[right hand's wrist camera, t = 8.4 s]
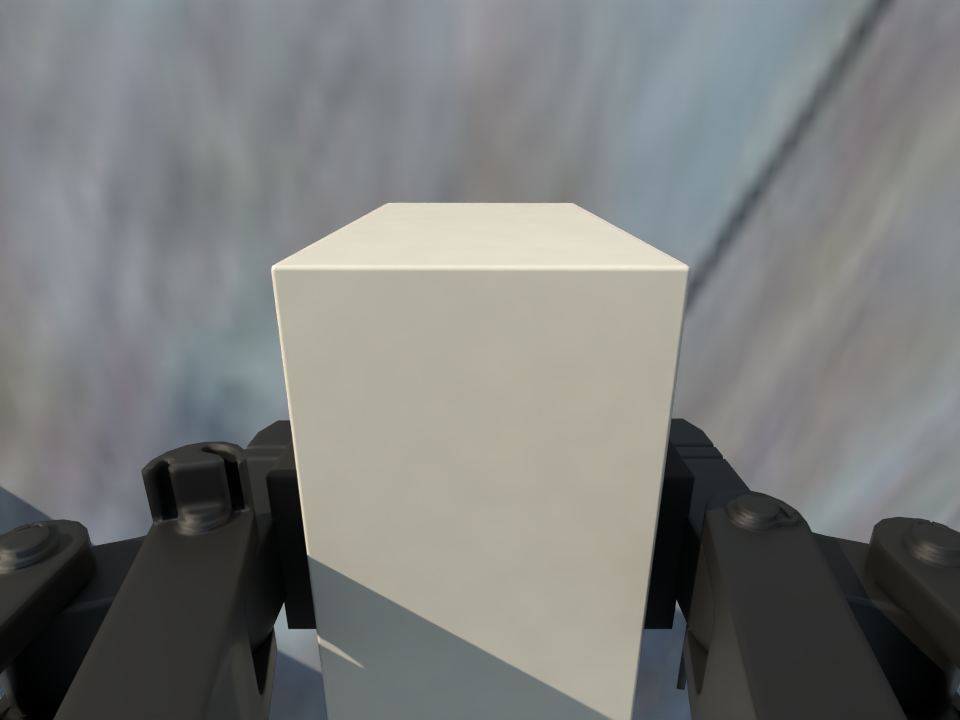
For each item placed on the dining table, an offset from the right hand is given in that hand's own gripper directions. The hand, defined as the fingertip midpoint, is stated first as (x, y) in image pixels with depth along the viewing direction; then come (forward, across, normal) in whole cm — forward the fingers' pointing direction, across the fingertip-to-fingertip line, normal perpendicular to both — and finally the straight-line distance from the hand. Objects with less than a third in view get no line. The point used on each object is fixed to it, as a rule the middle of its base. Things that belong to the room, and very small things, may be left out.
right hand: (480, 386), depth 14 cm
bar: (+1, 0, -11) cm, 11 cm away
